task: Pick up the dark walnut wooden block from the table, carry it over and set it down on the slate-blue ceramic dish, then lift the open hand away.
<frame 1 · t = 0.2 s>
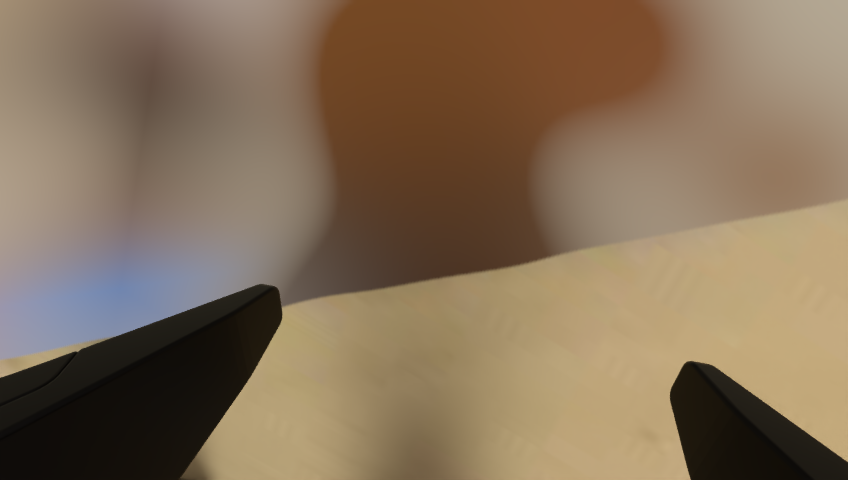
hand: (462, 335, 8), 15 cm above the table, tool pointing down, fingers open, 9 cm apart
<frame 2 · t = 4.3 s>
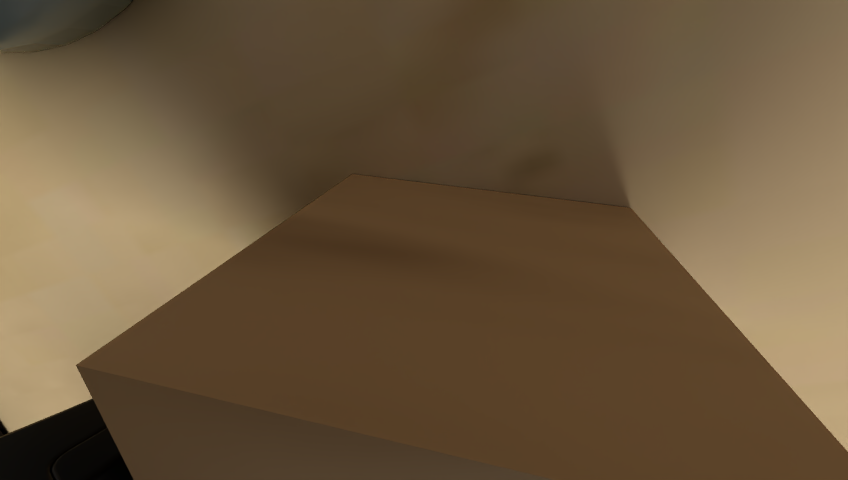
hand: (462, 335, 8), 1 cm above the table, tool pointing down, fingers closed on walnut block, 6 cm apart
walnut block: (467, 302, 9), on the table, touching gripper
when the fingers open (4 cm above the table, at t = 8.4 s): walnut block drops 1 cm, resting on dish.
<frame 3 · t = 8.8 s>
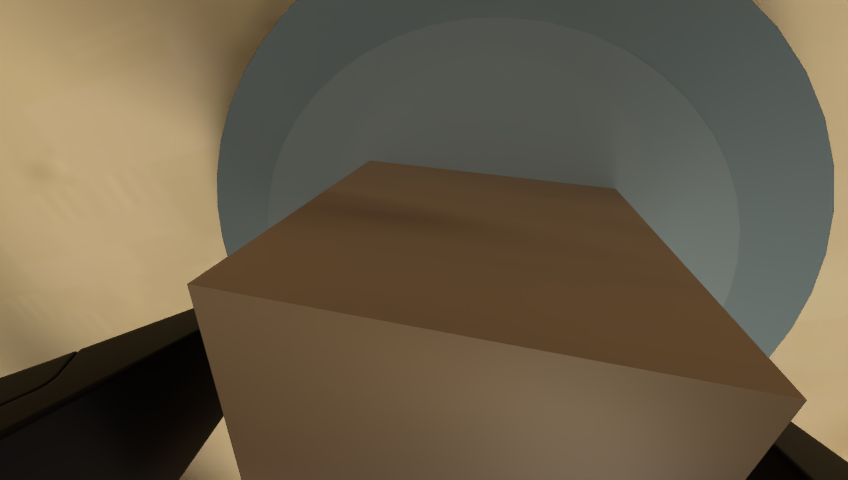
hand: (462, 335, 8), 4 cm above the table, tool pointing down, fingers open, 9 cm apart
walnut block: (471, 277, 10), point 2 cm above the table, touching dish
dish: (476, 252, 12), on the table
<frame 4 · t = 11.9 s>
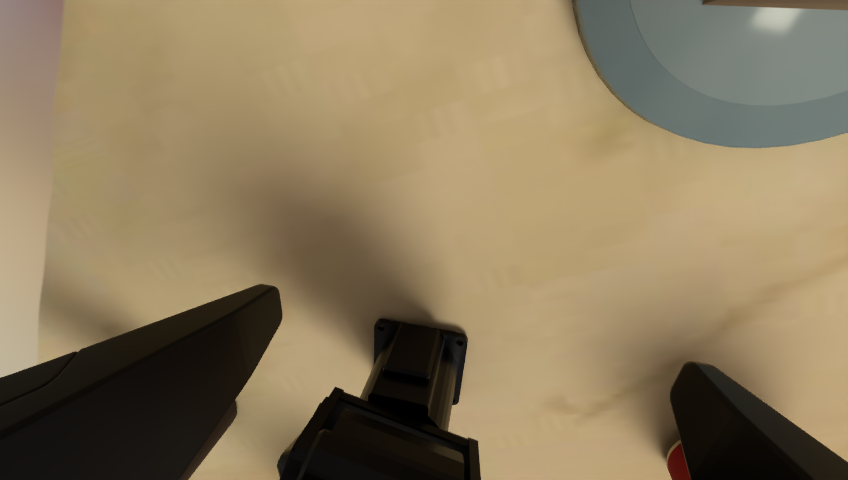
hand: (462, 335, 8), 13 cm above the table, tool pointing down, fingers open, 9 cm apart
bottle: (208, 394, 34), on the table
soda can: (717, 449, 24), on the table
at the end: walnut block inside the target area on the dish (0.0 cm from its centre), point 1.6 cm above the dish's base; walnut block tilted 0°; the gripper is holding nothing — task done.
